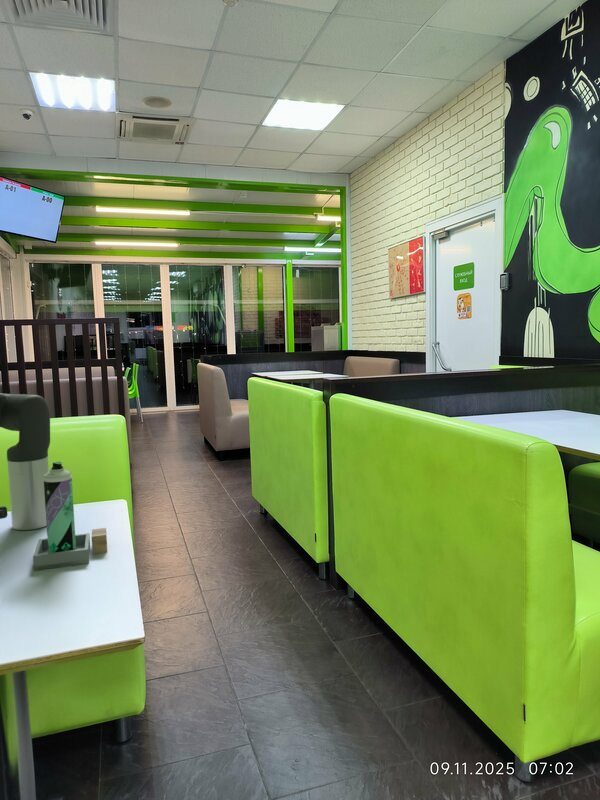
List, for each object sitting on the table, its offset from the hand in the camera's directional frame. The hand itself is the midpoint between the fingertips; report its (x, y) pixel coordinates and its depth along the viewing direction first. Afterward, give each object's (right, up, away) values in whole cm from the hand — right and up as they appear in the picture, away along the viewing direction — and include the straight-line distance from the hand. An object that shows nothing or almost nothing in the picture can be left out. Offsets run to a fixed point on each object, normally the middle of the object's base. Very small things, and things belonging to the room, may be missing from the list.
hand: (2, 506), depth 111 cm
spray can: (+9, -12, +8) cm, 17 cm away
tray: (+9, -13, +9) cm, 17 cm away
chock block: (+15, -12, +13) cm, 23 cm away
